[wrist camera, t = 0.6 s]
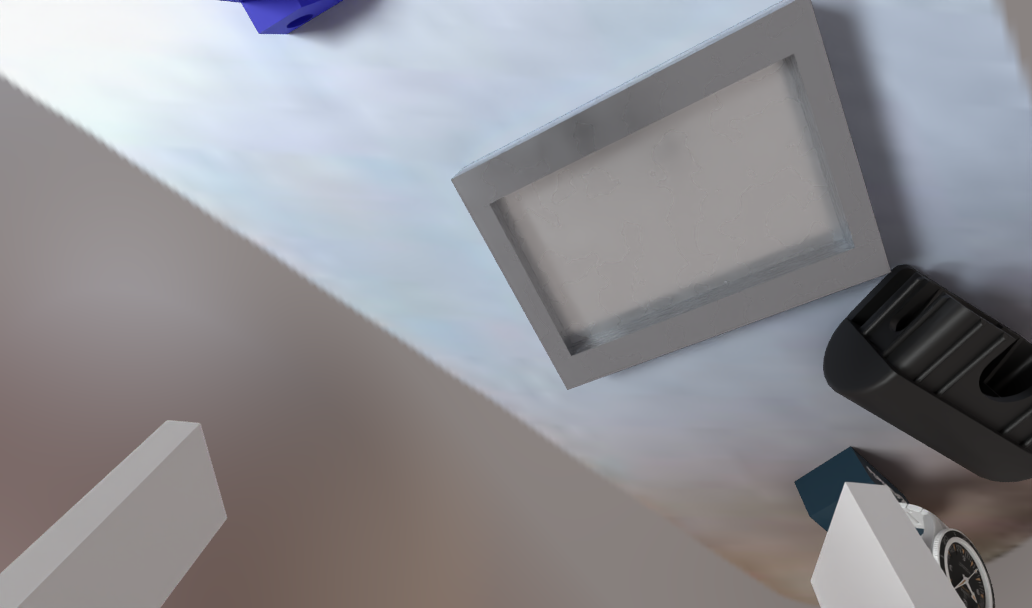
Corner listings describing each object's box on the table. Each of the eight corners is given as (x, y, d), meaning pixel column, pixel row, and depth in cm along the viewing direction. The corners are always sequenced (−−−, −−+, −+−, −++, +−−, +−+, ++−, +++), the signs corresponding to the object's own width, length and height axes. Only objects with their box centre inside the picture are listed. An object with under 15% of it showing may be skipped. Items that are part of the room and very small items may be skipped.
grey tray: (463, 168, 32) (450, 179, 30) (787, -2, 27) (808, -7, 24) (569, 364, 37) (567, 389, 34) (865, 252, 31) (890, 272, 29)
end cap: (802, 349, 34) (847, 416, 28) (893, 255, 31) (964, 308, 25) (933, 426, 35) (1002, 507, 29) (1032, 343, 32) (1133, 413, 26)
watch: (931, 479, 37) (1054, 640, 27) (824, 540, 40) (899, 703, 30) (876, 428, 36) (983, 576, 26) (771, 494, 39) (831, 649, 29)
